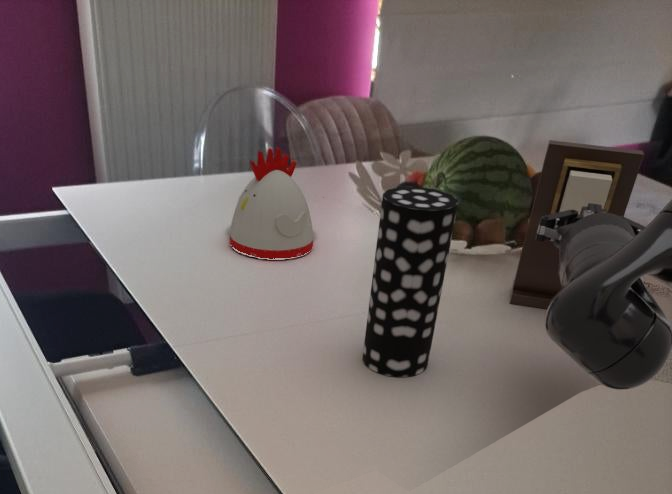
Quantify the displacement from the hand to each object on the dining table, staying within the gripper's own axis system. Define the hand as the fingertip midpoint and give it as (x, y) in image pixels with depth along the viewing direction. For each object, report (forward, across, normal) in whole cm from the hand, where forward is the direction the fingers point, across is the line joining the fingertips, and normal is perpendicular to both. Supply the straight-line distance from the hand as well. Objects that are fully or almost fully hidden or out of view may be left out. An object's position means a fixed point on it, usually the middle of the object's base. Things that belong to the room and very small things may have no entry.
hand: (591, 212), depth 88 cm
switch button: (+12, 0, +5) cm, 13 cm away
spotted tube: (-11, +19, +18) cm, 29 cm away
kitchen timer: (+22, +46, +18) cm, 54 cm away
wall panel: (+16, 0, +18) cm, 24 cm away
